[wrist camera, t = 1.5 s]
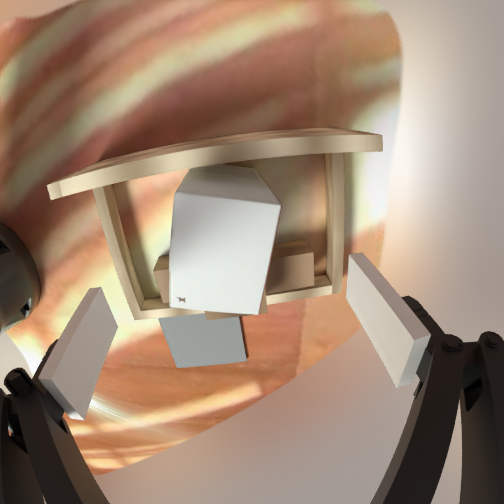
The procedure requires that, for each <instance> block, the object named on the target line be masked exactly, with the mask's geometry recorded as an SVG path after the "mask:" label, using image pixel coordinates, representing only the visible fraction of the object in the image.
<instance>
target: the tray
mask: <svg viewBox="0 0 504 504" xmlns="http://www.w3.org/2000/svg"><path fill="white" fill-rule="evenodd" d="M373 151H383V142H382V135H379V134H374V133H368V132H362V131H355V130H349V129H342V128H334V127H329V128H305V129H289V130H276V131H264V132H254V133H245V134H237V135H229V136H221V137H214V138H208V139H201V140H195V141H189V142H183V143H178V144H172V145H167V146H162V147H157V148H152V149H148V150H143V151H139V152H134V153H130V154H126V155H122V156H118V157H114V158H110V159H106V160H102V161H99V162H96V163H93V164H91V165H89V166H86V167H84V168H82V169H80V170H77V171H75V172H73V173H71V174H69V175H67V176H64V177H62V178H60V179H58V180H56V181H54V182H52V183H50V184H48V185H47V187H48V191H49V195H50V199H51V200H53V199H57V198H60V197H64V196H67V195H71V194H75V193H78V192H82V191H86V190H90V189H93V193H94V197H95V201H96V205H97V209H98V213H99V217H100V220H101V224H102V227H103V231H104V234H105V238H106V241H107V244H108V247H109V251H110V254H111V257H112V260H113V263H114V266H115V269H116V272H117V275H118V277H119V280H120V283H121V286H122V289H123V291H124V294H125V297H126V299H127V302H128V304H129V307H130V310H131V312H132V315H133V317H134V320H141V319H152V318H163V317H173V316H182V315H191V314H200V313H205V312H204V311H201V310H191V309H183V308H173V307H170V305H169V303H163V301H162V298H153V299H145V298H144V295H143V292H142V289H141V287H140V284H139V281H138V277H137V274H136V271H135V268H134V265H133V262H132V258H131V255H130V252H129V248H128V245H127V242H126V238H125V234H124V231H123V227H122V223H121V220H120V216H119V212H118V208H117V204H116V200H115V195H114V191H113V187H112V184H114V183H119V182H123V181H128V180H132V179H137V178H142V177H147V176H151V175H157V174H162V173H167V172H173V171H178V170H184V169H190V168H196V167H202V166H209V165H216V164H223V163H230V162H237V161H245V160H254V159H263V158H273V157H283V156H294V155H307V154H322V153H324V161H325V186H326V275H321V276H315V277H314V286H308V287H303V288H297V289H291V290H285V291H280V292H274V293H268V294H266V300H267V305H268V304H275V303H281V302H288V301H294V300H300V299H306V298H312V297H318V296H323V295H329V294H335V293H340V292H342V276H343V256H344V221H345V184H344V152H373Z"/></svg>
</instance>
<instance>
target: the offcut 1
mask: <svg viewBox="0 0 504 504" xmlns="http://www.w3.org/2000/svg"><path fill="white" fill-rule="evenodd" d="M153 272H154V276H155V279H156V282H157V285H158V289H159V292H160V295H161V298H162V301H163V303H169V279H170V275H169V255H168V256H161V257H159V258H158V260H157V263H156V265H155V268H154V270H153Z"/></svg>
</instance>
